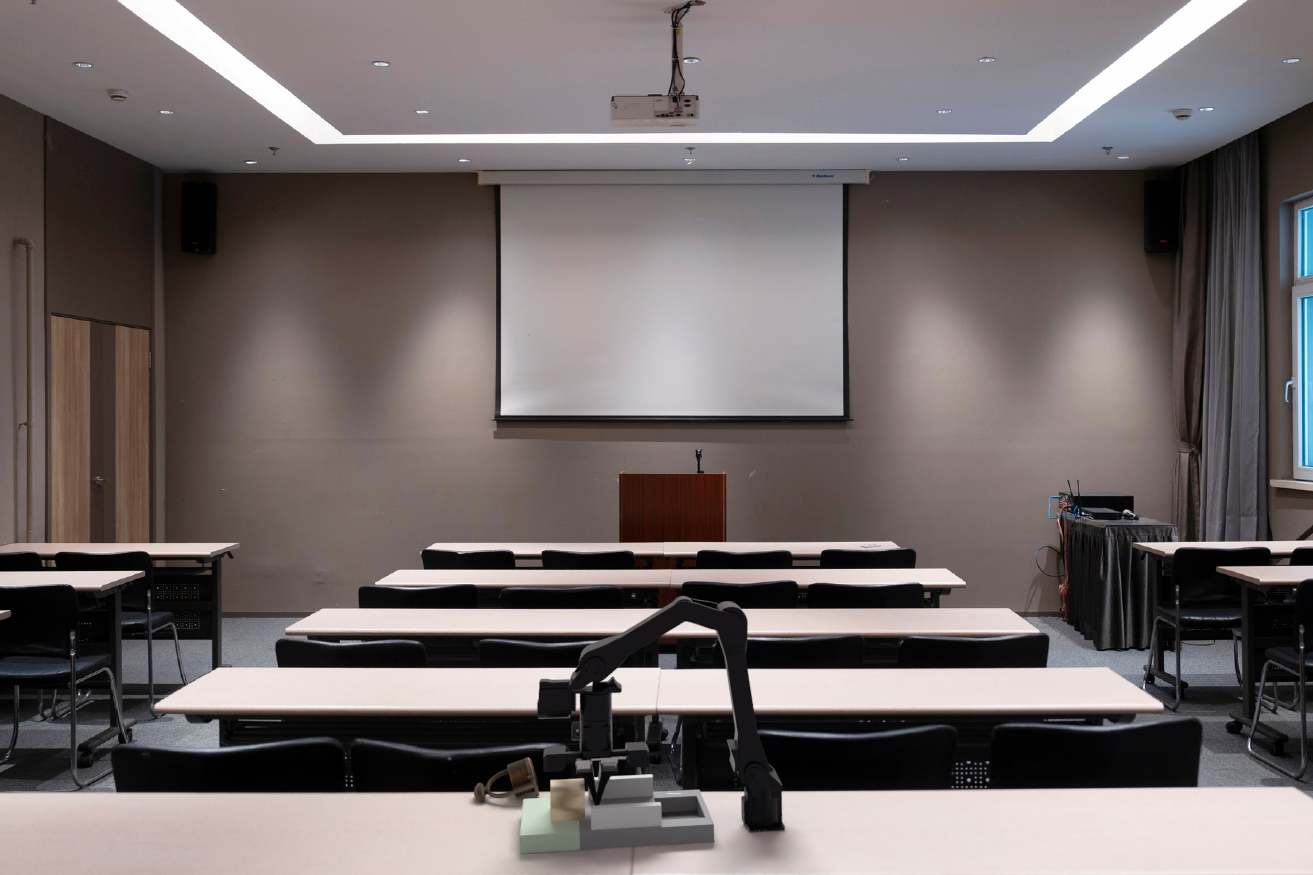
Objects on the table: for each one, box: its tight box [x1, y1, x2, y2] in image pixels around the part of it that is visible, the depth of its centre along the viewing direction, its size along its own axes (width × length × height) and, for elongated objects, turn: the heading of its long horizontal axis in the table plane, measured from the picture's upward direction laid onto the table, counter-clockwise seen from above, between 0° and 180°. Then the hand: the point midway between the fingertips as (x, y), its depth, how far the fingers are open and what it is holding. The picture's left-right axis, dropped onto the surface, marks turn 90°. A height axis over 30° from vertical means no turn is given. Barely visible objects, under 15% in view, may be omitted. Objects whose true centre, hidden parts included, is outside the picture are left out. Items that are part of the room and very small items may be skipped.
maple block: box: [549, 777, 586, 821], centre depth 158 cm, size 6×6×5 cm
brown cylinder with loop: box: [473, 757, 540, 803], centre depth 175 cm, size 7×13×10 cm
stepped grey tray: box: [519, 773, 715, 855], centre depth 159 cm, size 33×16×6 cm, turn 96°
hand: (596, 804), depth 159 cm, fingers closed
